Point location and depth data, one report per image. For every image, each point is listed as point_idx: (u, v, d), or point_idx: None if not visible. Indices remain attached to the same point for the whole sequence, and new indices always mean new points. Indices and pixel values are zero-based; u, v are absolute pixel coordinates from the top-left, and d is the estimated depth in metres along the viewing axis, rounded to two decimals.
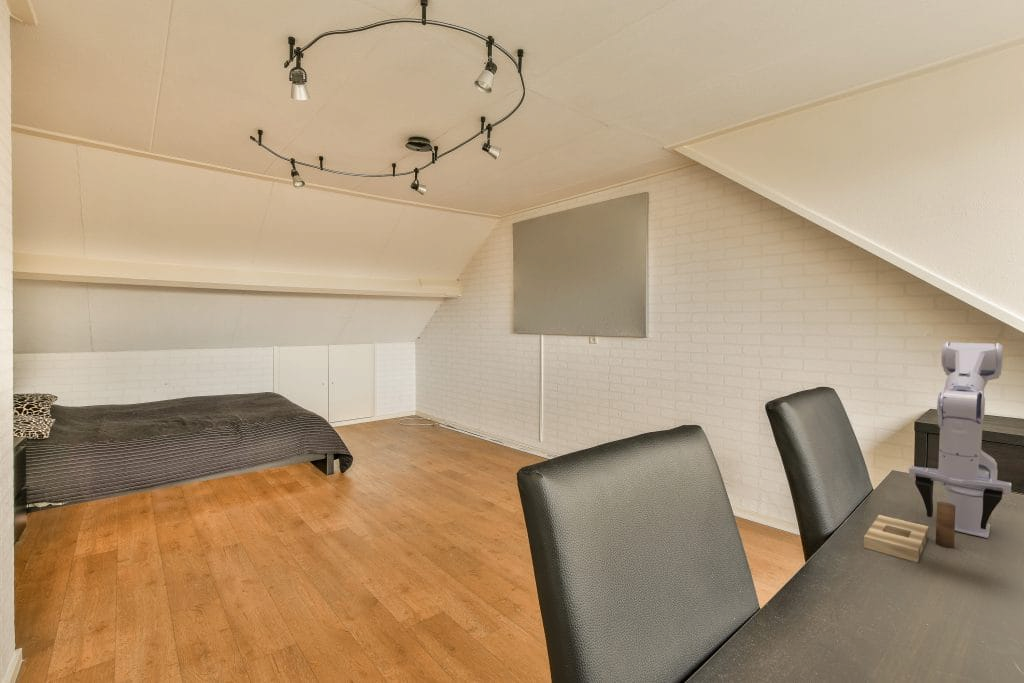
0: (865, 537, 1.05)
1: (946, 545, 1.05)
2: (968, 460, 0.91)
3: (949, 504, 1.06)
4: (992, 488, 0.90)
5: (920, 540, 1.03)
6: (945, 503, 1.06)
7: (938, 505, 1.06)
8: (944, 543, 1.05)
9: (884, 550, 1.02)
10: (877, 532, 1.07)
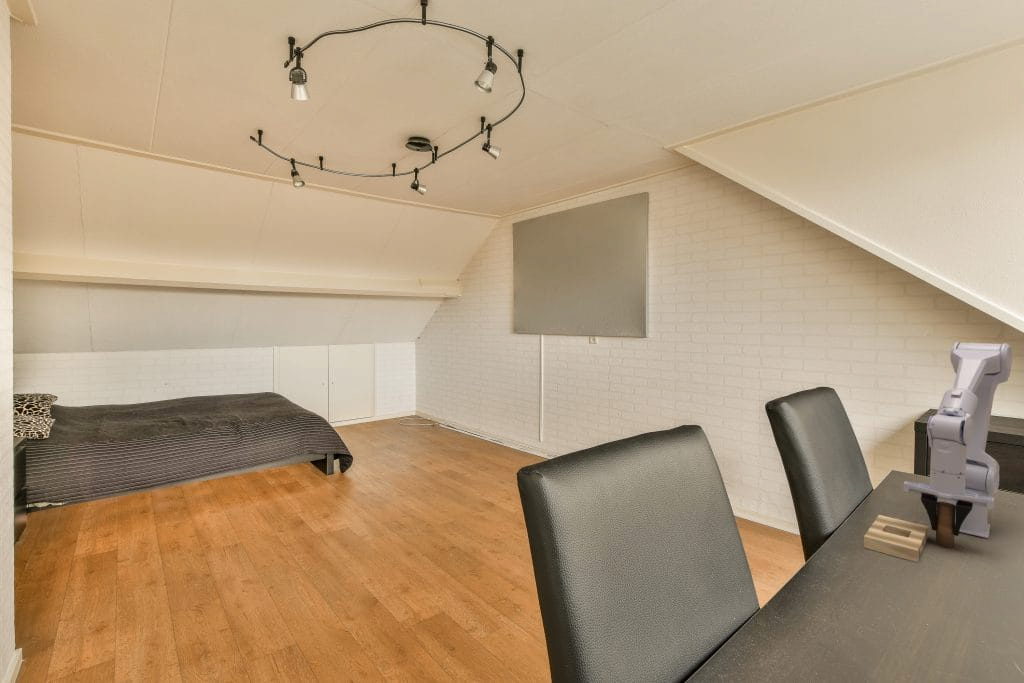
0: (865, 537, 1.05)
1: (946, 545, 1.05)
2: (956, 477, 1.02)
3: (949, 504, 1.06)
4: (977, 502, 1.02)
5: (920, 540, 1.03)
6: (945, 503, 1.06)
7: (938, 505, 1.06)
8: (944, 543, 1.05)
9: (884, 550, 1.02)
10: (877, 532, 1.07)
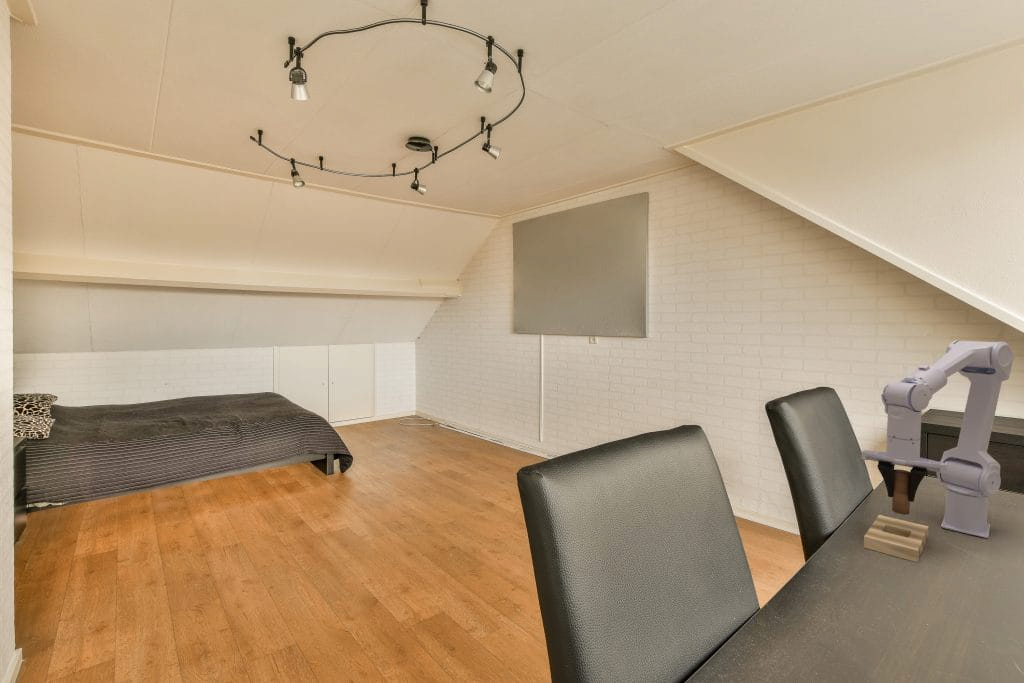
0: (865, 537, 1.05)
1: (901, 511, 1.06)
2: (910, 443, 1.03)
3: (905, 471, 1.06)
4: (931, 468, 1.03)
5: (920, 540, 1.03)
6: (901, 470, 1.07)
7: (894, 472, 1.07)
8: (899, 510, 1.06)
9: (884, 550, 1.02)
10: (877, 532, 1.07)
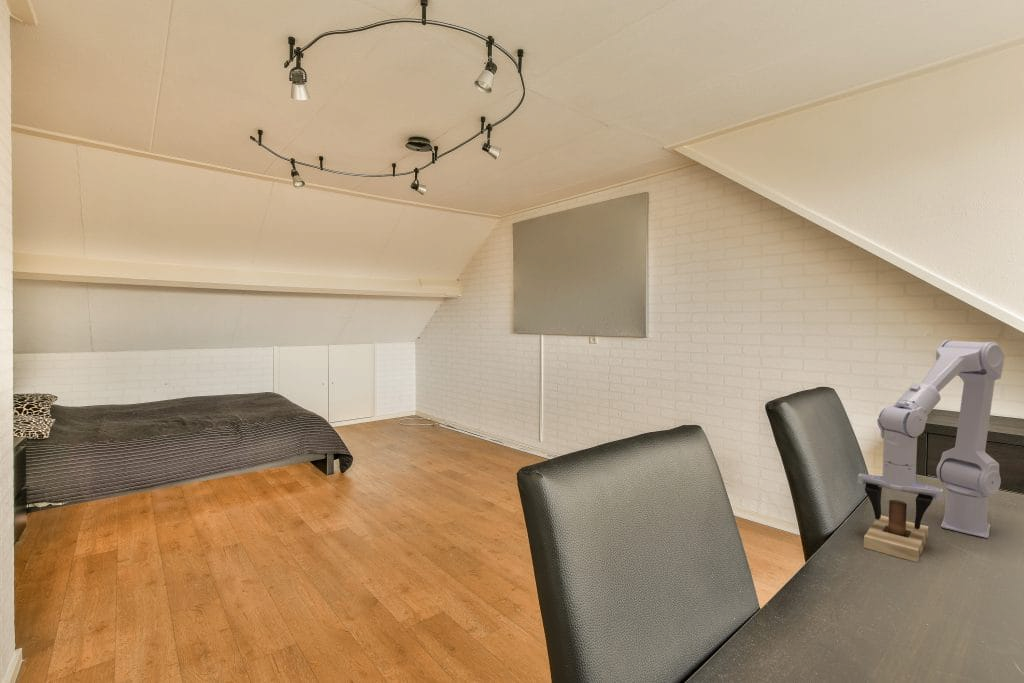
0: (865, 537, 1.05)
1: None
2: (906, 469, 1.04)
3: (901, 502, 1.07)
4: (927, 493, 1.03)
5: (920, 540, 1.03)
6: (897, 501, 1.07)
7: (890, 503, 1.07)
8: None
9: (884, 550, 1.02)
10: (877, 532, 1.07)
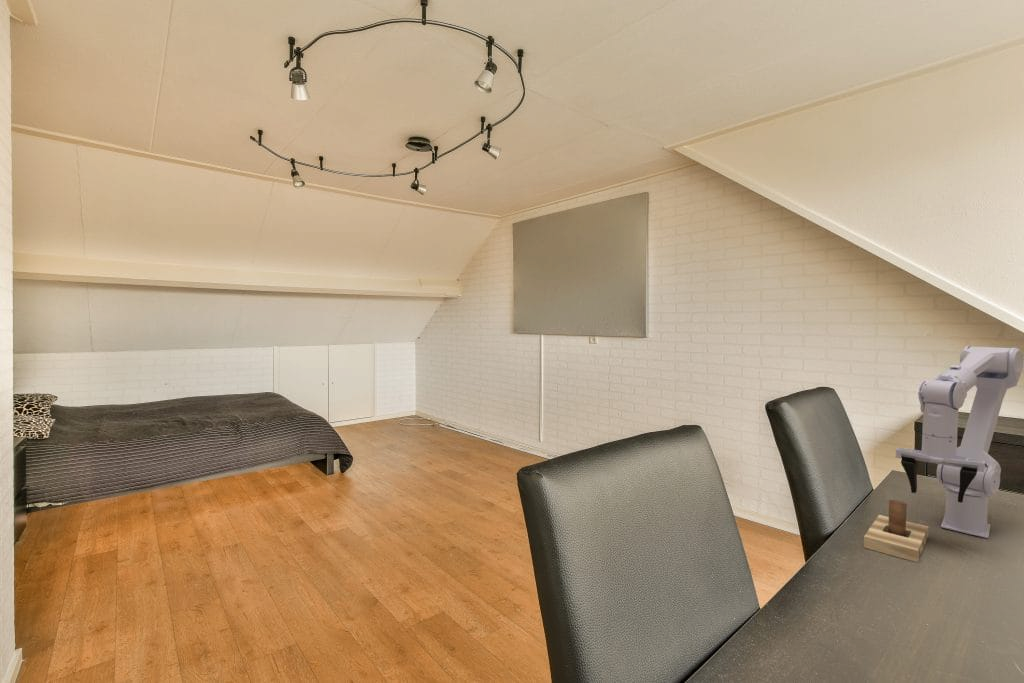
0: (865, 537, 1.05)
1: None
2: (947, 441, 1.03)
3: (901, 502, 1.07)
4: (968, 466, 1.02)
5: (920, 540, 1.03)
6: (897, 501, 1.07)
7: (890, 503, 1.07)
8: None
9: (884, 550, 1.02)
10: (877, 532, 1.07)
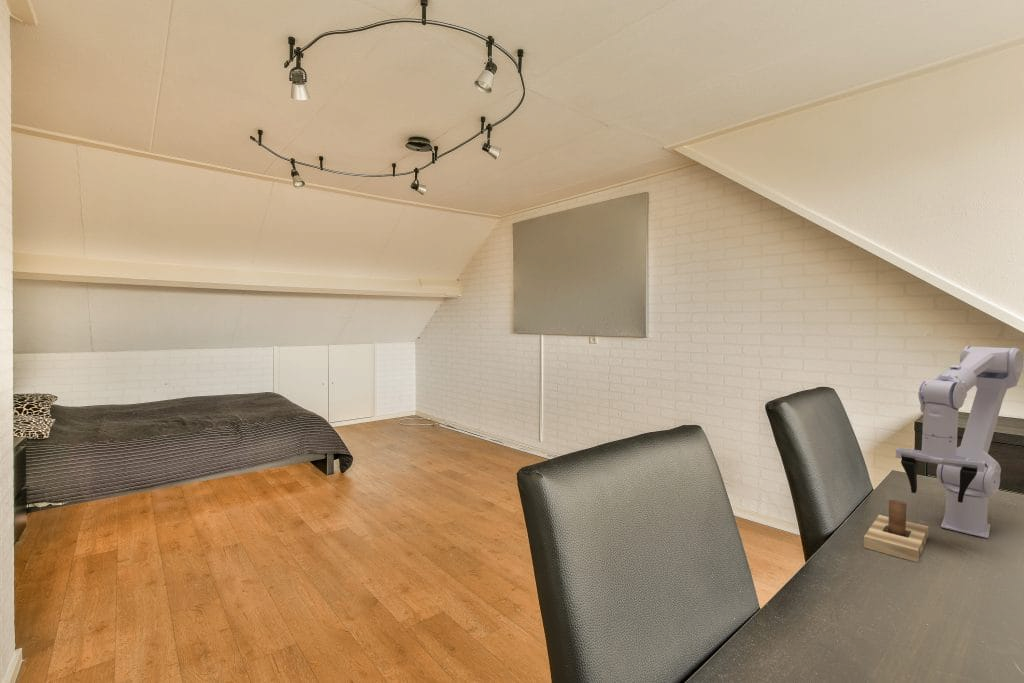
0: (865, 537, 1.05)
1: None
2: (947, 441, 1.03)
3: (901, 502, 1.07)
4: (968, 466, 1.02)
5: (920, 540, 1.03)
6: (897, 501, 1.07)
7: (890, 503, 1.07)
8: None
9: (884, 550, 1.02)
10: (877, 532, 1.07)
